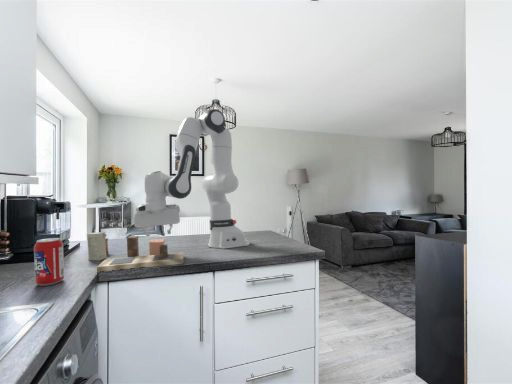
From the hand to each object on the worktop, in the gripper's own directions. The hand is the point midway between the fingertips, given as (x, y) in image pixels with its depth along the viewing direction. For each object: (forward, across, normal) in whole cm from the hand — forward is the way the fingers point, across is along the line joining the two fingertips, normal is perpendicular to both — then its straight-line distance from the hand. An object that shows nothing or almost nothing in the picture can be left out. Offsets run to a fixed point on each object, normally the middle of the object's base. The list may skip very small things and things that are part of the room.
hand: (158, 234), depth 126 cm
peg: (+9, +12, +2) cm, 15 cm away
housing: (+10, +1, +1) cm, 10 cm away
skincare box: (+9, +28, -2) cm, 29 cm away
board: (+9, +6, +14) cm, 17 cm away
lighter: (+9, +30, -12) cm, 33 cm away
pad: (+7, +13, +14) cm, 20 cm away
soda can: (+8, +33, +28) cm, 44 cm away
